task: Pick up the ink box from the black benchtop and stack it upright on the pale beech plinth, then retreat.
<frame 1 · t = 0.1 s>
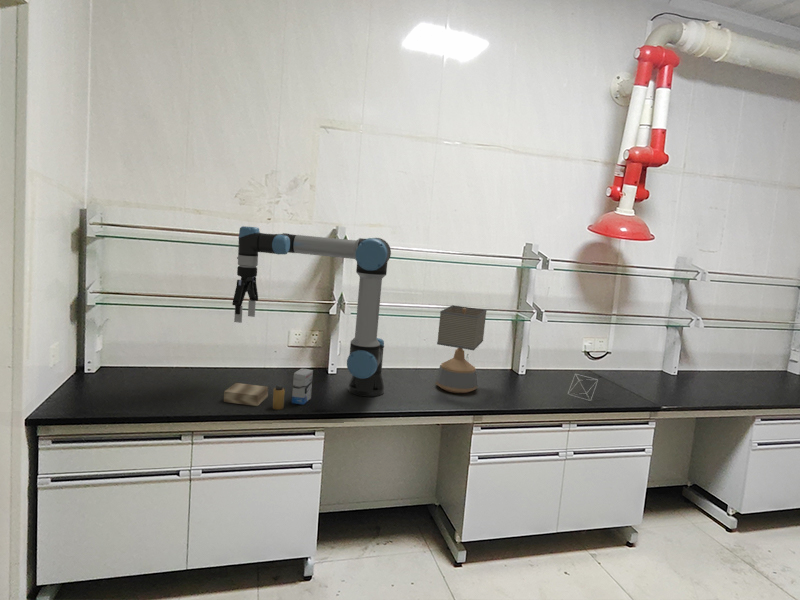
hand: (244, 319, 214), 28 cm above the lab bench, fingers open, 13 cm apart
geometric polyhedron: (581, 396, 248), on the lab bench
beech plinth: (246, 399, 205), on the lab bench
ink box: (301, 401, 208), on the lab bench
amber bottle: (278, 407, 199), on the lab bench
desk lamp: (455, 389, 242), on the lab bench
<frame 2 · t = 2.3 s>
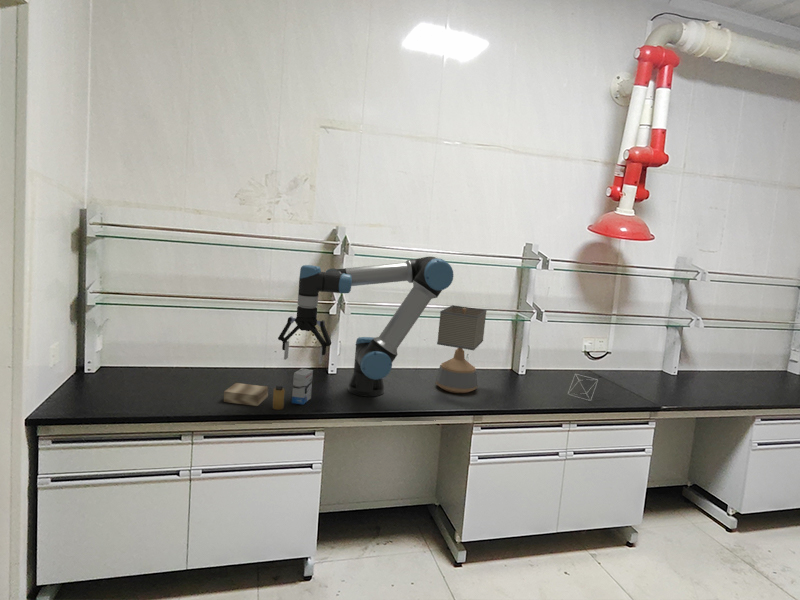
hand: (303, 360, 206), 16 cm above the lab bench, fingers open, 13 cm apart
nothing on the lab bench moved.
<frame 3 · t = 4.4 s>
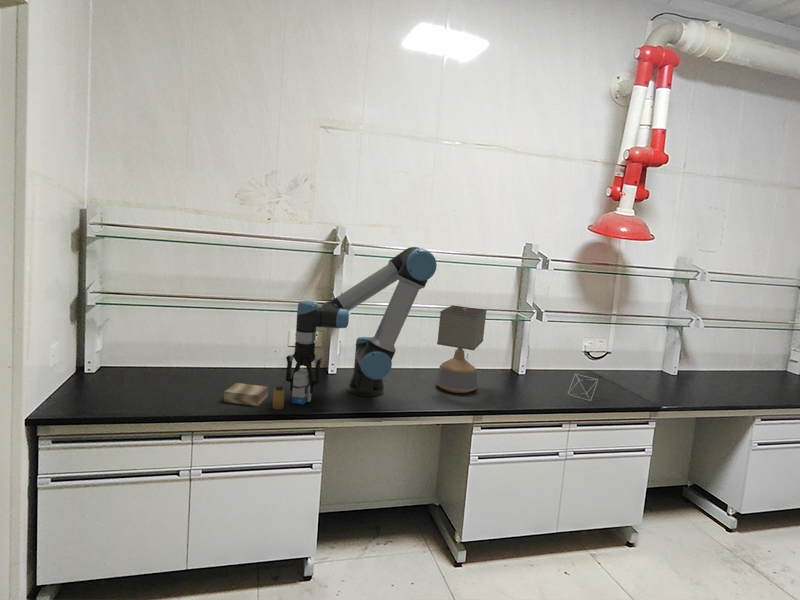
hand: (301, 399, 208), 0 cm above the lab bench, fingers closed on ink box, 5 cm apart
ink box: (301, 401, 209), on the lab bench, touching gripper
everything else where it was.
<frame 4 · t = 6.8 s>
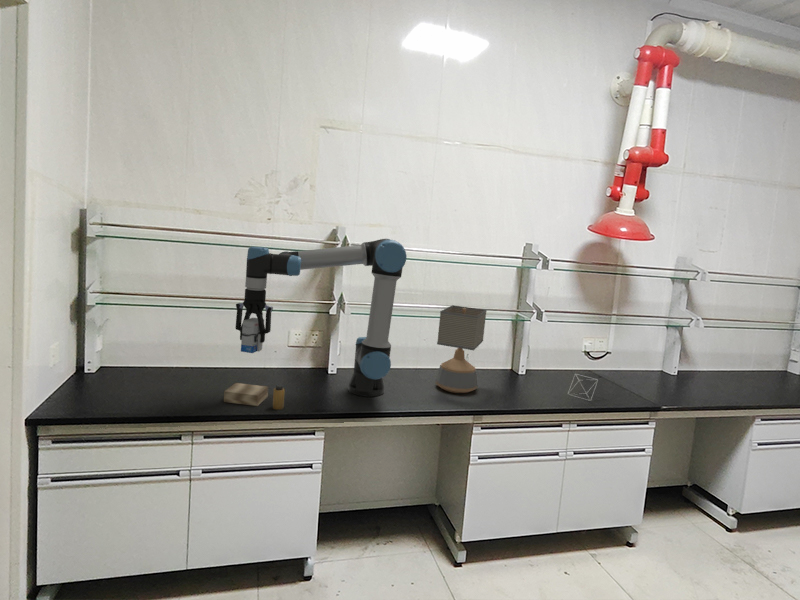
hand: (251, 349, 202), 19 cm above the lab bench, fingers closed on ink box, 5 cm apart
ink box: (251, 350, 202), point 19 cm above the lab bench, touching gripper
everything else where it was.
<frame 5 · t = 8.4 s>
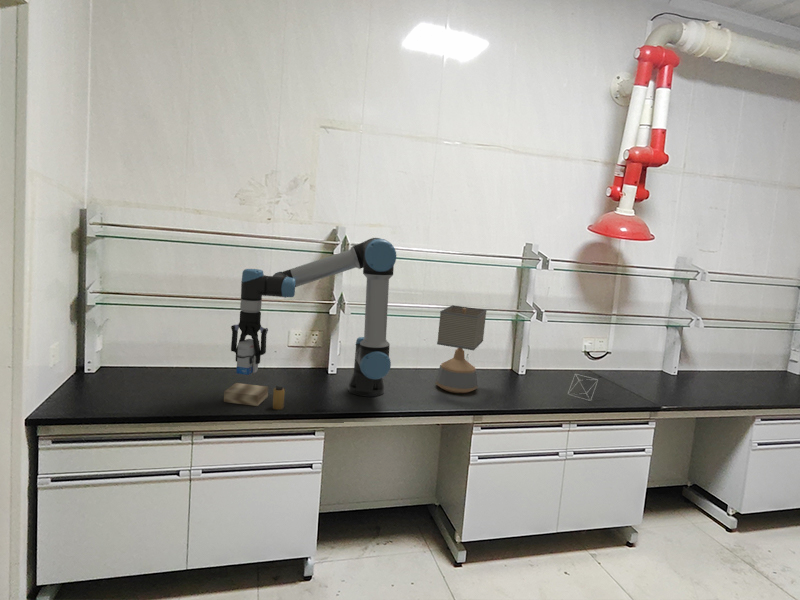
hand: (247, 370, 203), 11 cm above the lab bench, fingers closed on ink box, 5 cm apart
ink box: (247, 372, 203), point 11 cm above the lab bench, touching gripper
everything else where it was.
when the fingers open (6 cm above the lab bench, at t = 9.6 s): ink box drops 2 cm, resting on beech plinth.
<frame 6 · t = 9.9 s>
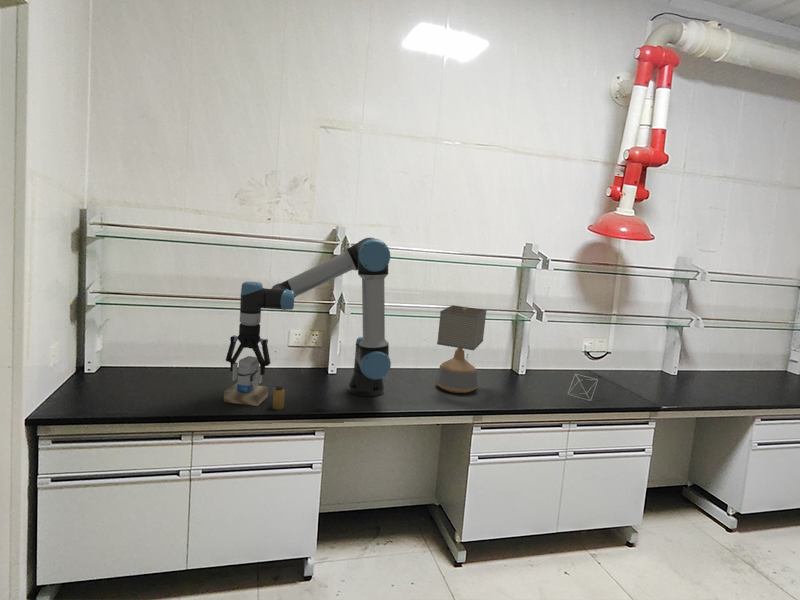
hand: (247, 381, 204), 7 cm above the lab bench, fingers open, 9 cm apart
ink box: (247, 389, 204), point 4 cm above the lab bench, touching beech plinth
everything else where it was.
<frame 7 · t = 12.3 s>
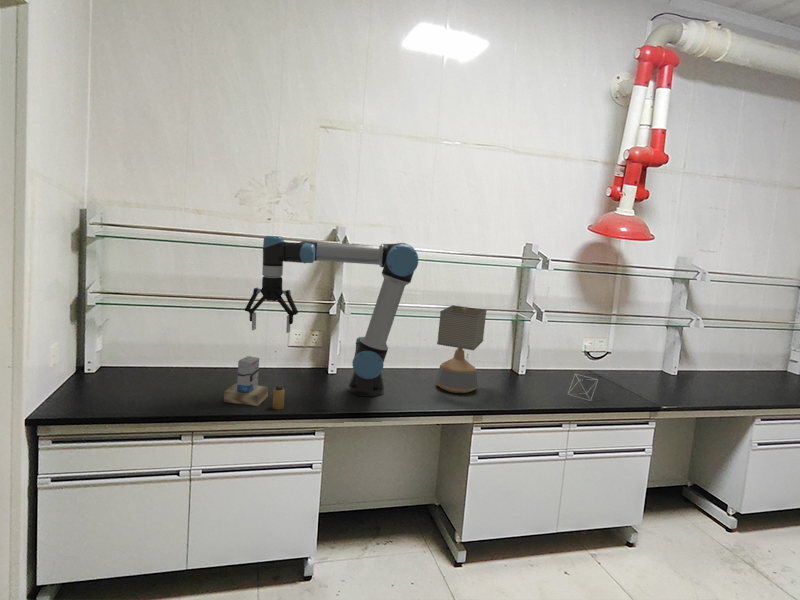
hand: (271, 330, 209), 26 cm above the lab bench, fingers open, 13 cm apart
nothing on the lab bench moved.
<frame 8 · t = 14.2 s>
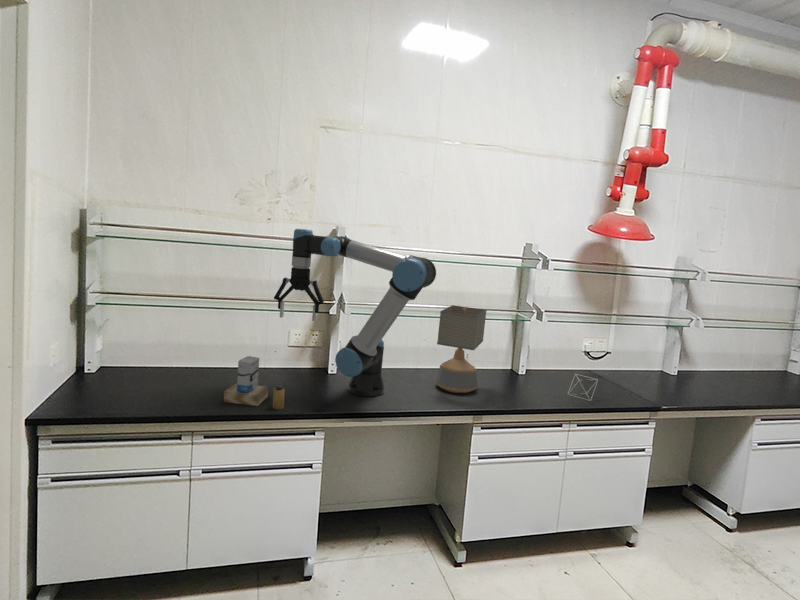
hand: (297, 318, 221), 29 cm above the lab bench, fingers open, 13 cm apart
nothing on the lab bench moved.
at the end: ink box inside the target area on the beech plinth (0.3 cm from its centre), point 3.8 cm above the beech plinth's base; ink box tilted 0°; the gripper is holding nothing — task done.
